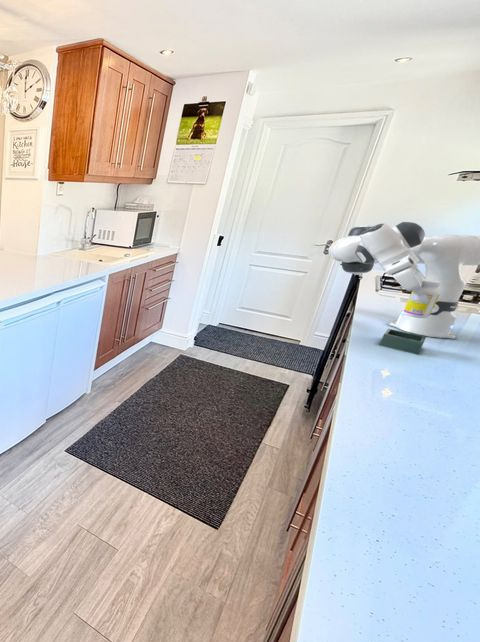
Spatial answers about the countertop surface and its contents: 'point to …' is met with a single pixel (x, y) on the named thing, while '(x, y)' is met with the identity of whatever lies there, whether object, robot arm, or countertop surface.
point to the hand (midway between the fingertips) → (426, 296)
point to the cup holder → (402, 341)
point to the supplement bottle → (423, 300)
